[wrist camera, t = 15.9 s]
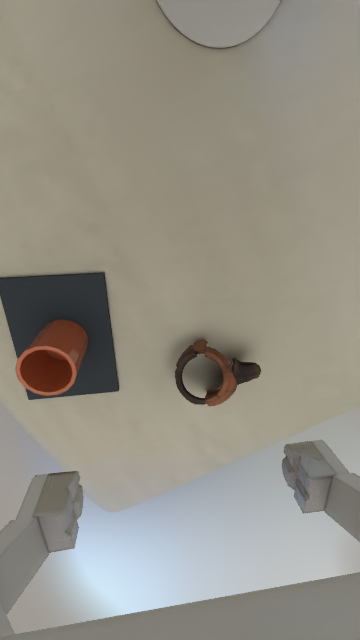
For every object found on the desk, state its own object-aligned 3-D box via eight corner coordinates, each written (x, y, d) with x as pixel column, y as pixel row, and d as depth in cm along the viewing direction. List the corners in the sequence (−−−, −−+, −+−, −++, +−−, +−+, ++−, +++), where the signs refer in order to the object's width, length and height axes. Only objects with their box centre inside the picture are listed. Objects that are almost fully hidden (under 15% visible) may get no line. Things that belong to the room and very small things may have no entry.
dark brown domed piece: (192, 401, 46) (178, 418, 38) (178, 345, 47) (162, 350, 39) (266, 387, 43) (268, 402, 35) (250, 327, 44) (249, 329, 36)
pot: (35, 320, 37) (9, 348, 30) (85, 317, 38) (71, 344, 30) (45, 362, 39) (23, 398, 32) (91, 359, 40) (80, 392, 33)
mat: (-3, 278, 35) (-5, 279, 35) (104, 272, 37) (103, 273, 36) (30, 397, 42) (28, 400, 41) (119, 389, 43) (118, 391, 43)
